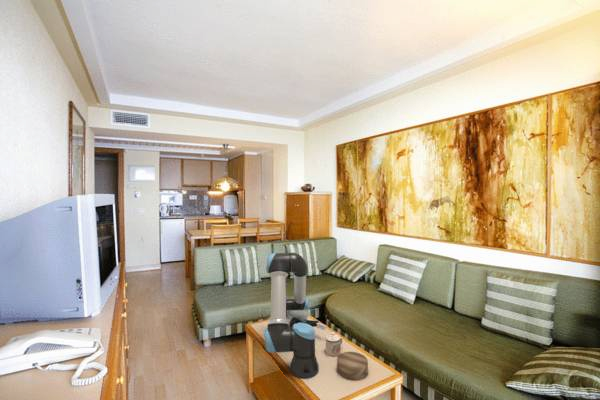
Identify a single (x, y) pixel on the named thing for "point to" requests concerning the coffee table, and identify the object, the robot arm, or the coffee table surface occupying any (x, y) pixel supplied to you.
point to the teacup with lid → (333, 344)
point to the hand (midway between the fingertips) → (319, 332)
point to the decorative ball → (299, 314)
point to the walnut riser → (352, 366)
